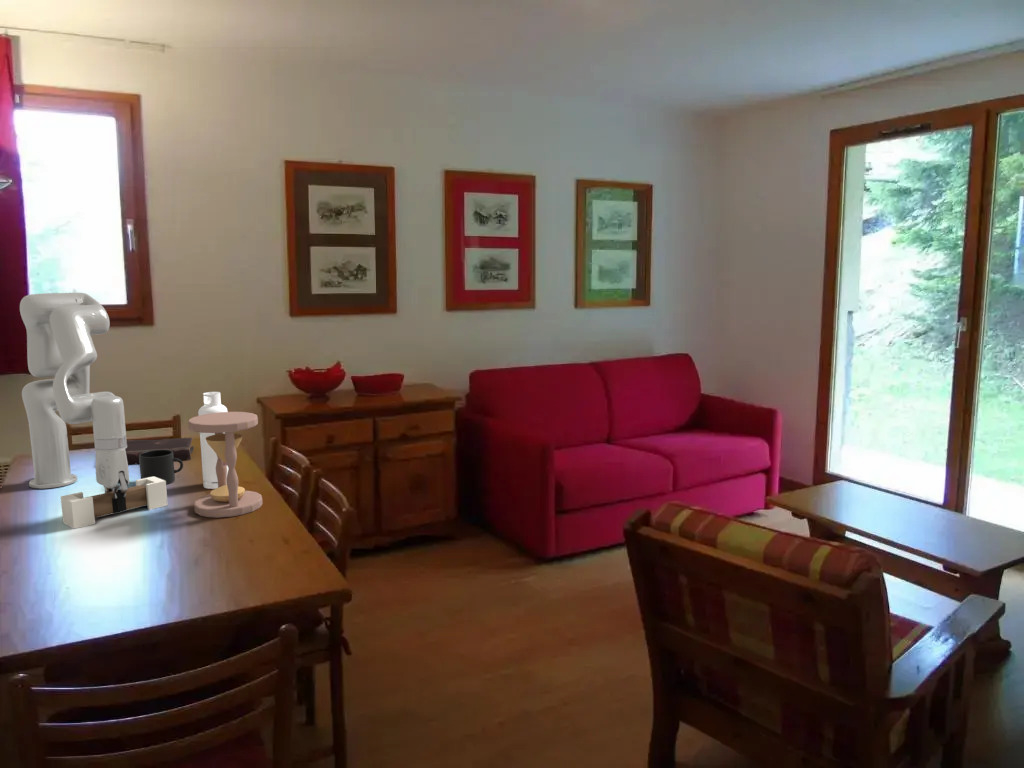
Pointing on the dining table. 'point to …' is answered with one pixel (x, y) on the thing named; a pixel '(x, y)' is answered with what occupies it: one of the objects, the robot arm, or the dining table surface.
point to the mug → (159, 465)
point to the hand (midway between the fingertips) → (116, 509)
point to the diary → (159, 448)
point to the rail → (133, 497)
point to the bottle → (206, 451)
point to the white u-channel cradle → (83, 510)
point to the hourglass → (225, 464)
